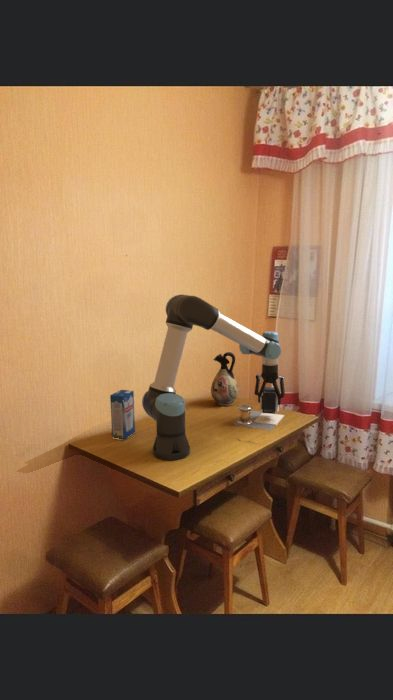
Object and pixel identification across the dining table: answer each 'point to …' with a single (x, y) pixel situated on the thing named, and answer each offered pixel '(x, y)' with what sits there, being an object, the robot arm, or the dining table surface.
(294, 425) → the dining table surface
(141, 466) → the dining table surface
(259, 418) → the board
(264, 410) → the small box
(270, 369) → the robot arm
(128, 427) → the milk carton
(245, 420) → the bobbin
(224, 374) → the ceramic jug
